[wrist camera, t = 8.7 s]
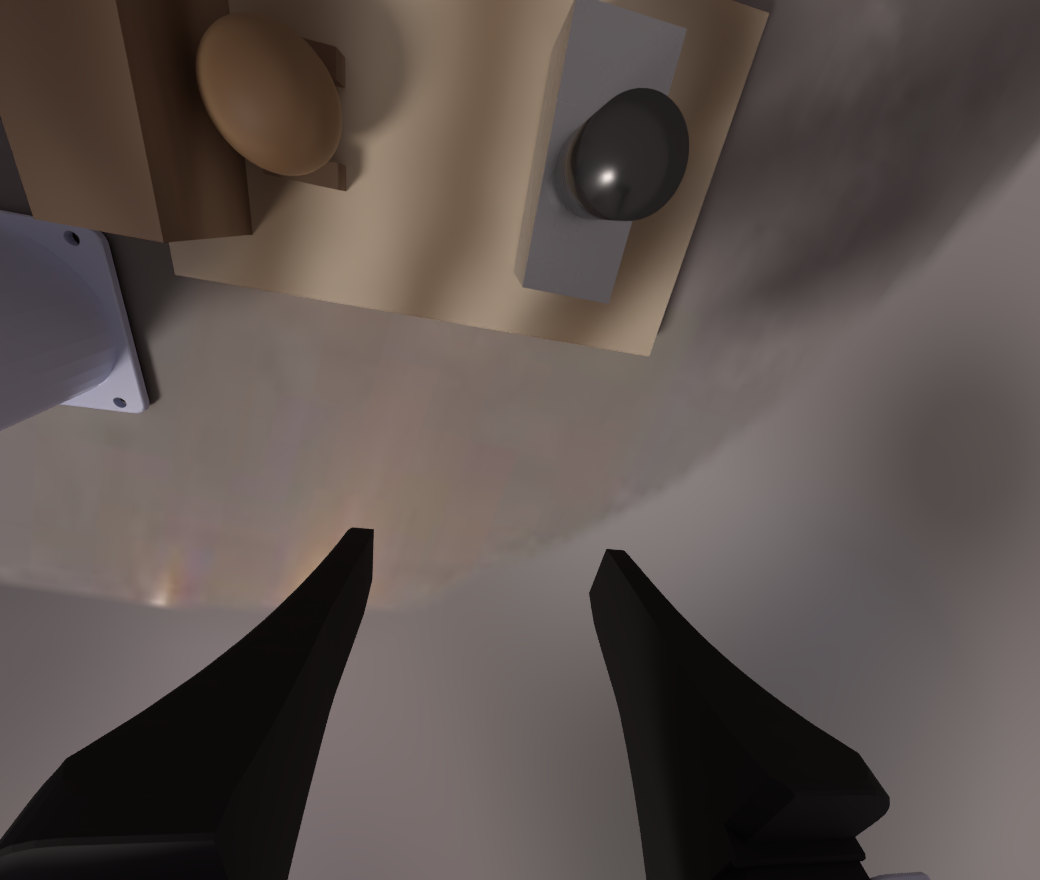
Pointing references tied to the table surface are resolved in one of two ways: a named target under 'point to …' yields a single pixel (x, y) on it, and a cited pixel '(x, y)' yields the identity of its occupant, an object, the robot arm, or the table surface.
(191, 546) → the table surface
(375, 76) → the base
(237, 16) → the walnut
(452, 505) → the table surface
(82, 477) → the table surface
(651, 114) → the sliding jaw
